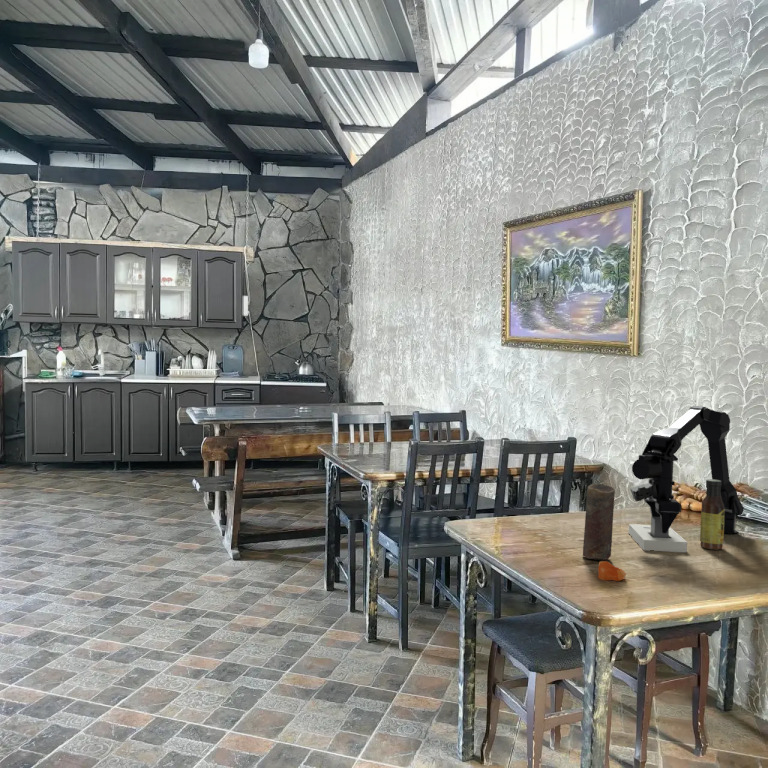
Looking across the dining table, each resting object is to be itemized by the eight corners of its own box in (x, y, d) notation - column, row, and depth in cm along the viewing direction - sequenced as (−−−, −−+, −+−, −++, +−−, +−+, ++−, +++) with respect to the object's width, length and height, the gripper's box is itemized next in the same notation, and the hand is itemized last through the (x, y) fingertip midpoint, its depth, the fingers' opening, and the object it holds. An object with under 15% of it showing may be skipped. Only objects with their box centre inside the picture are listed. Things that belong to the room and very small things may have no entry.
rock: (639, 591, 169) (640, 573, 169) (587, 586, 172) (588, 569, 171) (632, 575, 181) (632, 558, 181) (583, 570, 183) (583, 554, 183)
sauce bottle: (725, 551, 202) (729, 483, 201) (702, 549, 203) (705, 481, 202) (719, 545, 208) (723, 479, 207) (697, 543, 209) (700, 477, 208)
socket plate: (628, 533, 219) (628, 523, 219) (668, 535, 218) (668, 525, 218) (643, 550, 201) (643, 539, 201) (686, 552, 200) (687, 541, 200)
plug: (649, 543, 209) (651, 516, 208) (663, 543, 208) (665, 517, 208) (653, 547, 205) (655, 520, 204) (667, 547, 204) (669, 520, 204)
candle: (611, 556, 194) (615, 485, 193) (611, 564, 187) (614, 490, 186) (583, 553, 197) (586, 482, 195) (581, 560, 190) (584, 487, 189)
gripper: (626, 469, 215) (624, 519, 216) (642, 481, 197) (639, 536, 198) (663, 471, 214) (661, 521, 215) (683, 483, 196) (680, 538, 197)
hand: (659, 529), depth 206 cm, fingers open, 9 cm apart
